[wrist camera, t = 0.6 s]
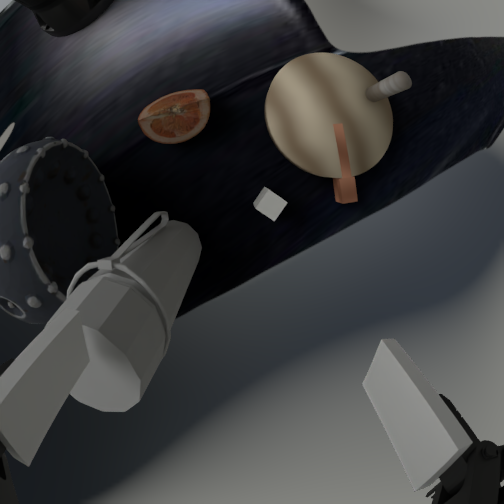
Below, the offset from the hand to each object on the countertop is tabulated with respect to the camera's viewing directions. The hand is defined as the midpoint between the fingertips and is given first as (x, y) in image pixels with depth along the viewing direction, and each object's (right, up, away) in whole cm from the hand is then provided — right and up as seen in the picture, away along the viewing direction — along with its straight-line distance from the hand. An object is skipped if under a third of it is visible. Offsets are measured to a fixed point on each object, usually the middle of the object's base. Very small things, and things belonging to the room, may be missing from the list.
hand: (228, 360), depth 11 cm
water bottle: (-9, +6, +25) cm, 27 cm away
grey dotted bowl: (-22, +9, +23) cm, 33 cm away
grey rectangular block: (+3, +11, +24) cm, 26 cm away
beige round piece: (+11, +20, +20) cm, 31 cm away
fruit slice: (-8, +21, +21) cm, 30 cm away
